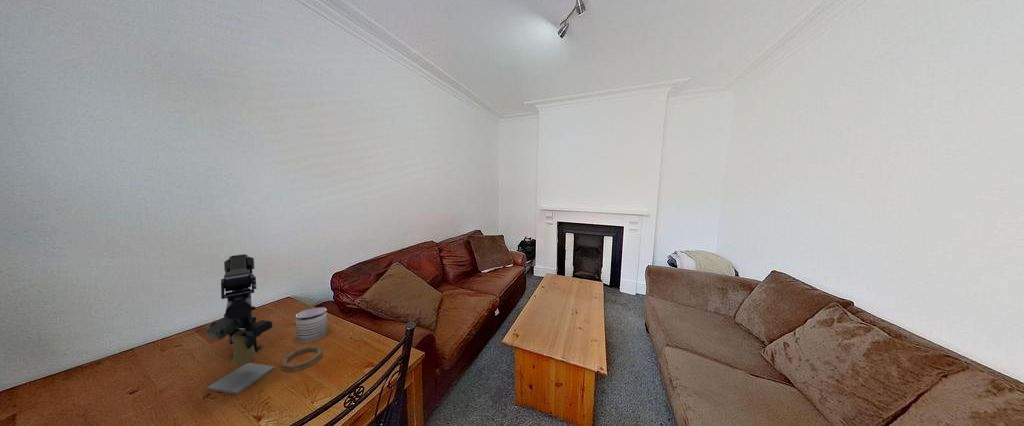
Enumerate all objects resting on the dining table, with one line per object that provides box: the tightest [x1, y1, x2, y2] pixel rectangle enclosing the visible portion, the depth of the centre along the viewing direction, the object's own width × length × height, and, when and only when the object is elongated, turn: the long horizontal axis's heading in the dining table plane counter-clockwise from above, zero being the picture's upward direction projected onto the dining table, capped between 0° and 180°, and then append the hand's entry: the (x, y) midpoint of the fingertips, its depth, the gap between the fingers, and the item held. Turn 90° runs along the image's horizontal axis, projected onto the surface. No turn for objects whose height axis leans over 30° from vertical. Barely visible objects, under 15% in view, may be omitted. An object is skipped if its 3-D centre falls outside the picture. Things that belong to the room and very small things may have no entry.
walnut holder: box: [280, 344, 323, 373], centre depth 101 cm, size 12×12×2 cm
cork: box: [231, 329, 257, 366], centre depth 90 cm, size 6×6×11 cm
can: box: [295, 306, 328, 343], centre depth 117 cm, size 11×11×12 cm
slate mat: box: [206, 362, 275, 395], centre depth 91 cm, size 12×12×1 cm
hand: (243, 347), depth 90 cm, fingers closed on cork, 4 cm apart
